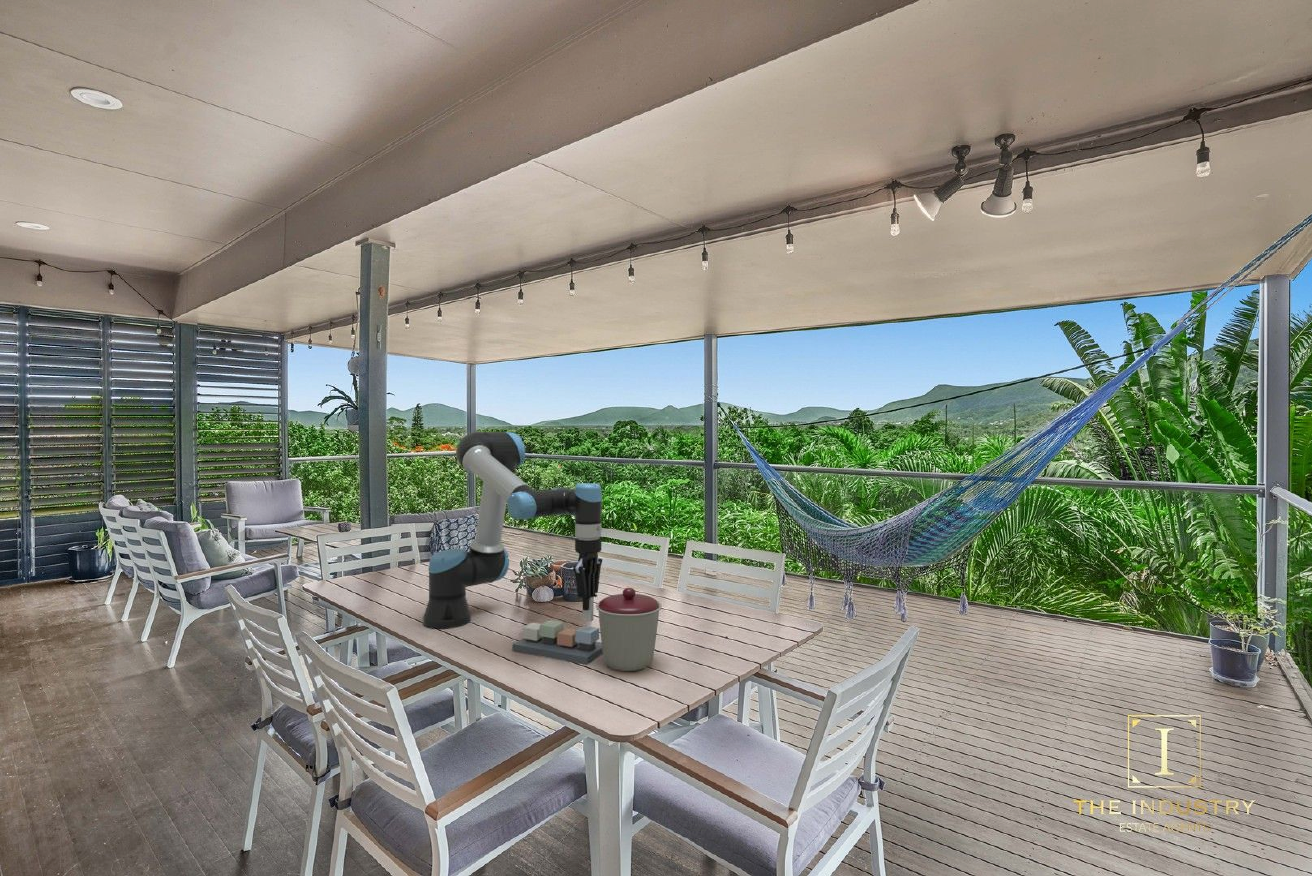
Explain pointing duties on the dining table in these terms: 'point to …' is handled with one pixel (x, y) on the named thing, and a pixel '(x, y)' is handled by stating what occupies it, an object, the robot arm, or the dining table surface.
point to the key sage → (551, 628)
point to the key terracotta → (566, 637)
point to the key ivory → (532, 632)
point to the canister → (628, 629)
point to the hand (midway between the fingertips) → (588, 620)
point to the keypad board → (559, 650)
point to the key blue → (587, 635)
